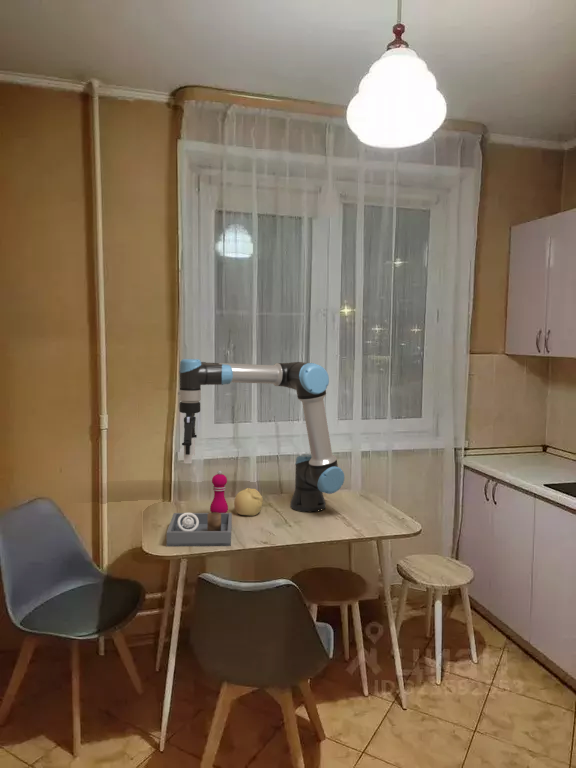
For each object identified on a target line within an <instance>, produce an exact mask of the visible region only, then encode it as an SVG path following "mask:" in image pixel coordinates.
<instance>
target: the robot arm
mask: <svg viewBox="0 0 576 768" xmlns="http://www.w3.org/2000/svg"><path fill="white" fill-rule="evenodd" d="M178 373H179V391H178V393H177V395H178V396H179V401H180V402H179V405H178V409H179V412H180V413H182V414H185V416H184V417H183V427H184V431H183V432H184V433H183V442H182V443H181V446H183V464H192V463H193V460H192V459H193V458H192V457H193V456H195V454H196V453H195V450H196V449H195V448H196V446H195V445H196V439H197V434H196V419H197V418H196V416H195V415H196V414H198V413H200V412H201V402H200V401H201V396H202V395H201V394H202V393H201V387H202V386H209V385H210V386H211V385H214V386H215V385H218V386H223V385H229V384H232V383H239V384H240V383H242V384H243V383H245V384H271V385H274V387H283V388H288V389H293V390H295V391H296V395H297V397H296V398H297V400H299V401H300V402H301V403H302V410H303V414H304V421H305V427H306V433H307V438H308V443H309V450H310V454H302V455H297V457H296V458H295V465H294V466H295V475H294V476H295V477H294V478H295V481H294V483H295V484H294V492H293V495H292V497H291V500H290V508H291V507H292V508H293V509H292V508H291V509H292V510H294V509H295V510H294V511H297V510H300V511H299V512H301V511H318V510H321V509H324V508H325V509H326V500H325V496H324V494H329V495H330V494H334V493H336V492H338V491H339V490H341V488H342V486H343V485H344V483H345V473H344V471H343V470H342V468H341V467H339V465H338V459H337V456H335V454H334V455H333V452H332V444H331V438H330V432H329V426H328V420H327V413H326V408H325V401H324V399H325V397H326V396H327V388H328V386H329V382H330V377H329V374H328V372H327V370H326V369H325V368H324V367H323V366H321V364H317V363H314V362H303V361H302V362H301V361H296V362H295V361H293V362H276V363H275V364H251V363H230V362H229V363H227V362H226V363H225V362H224V363H223V362H207V361H201V359H198V358H183V359H181V360H180V363H179V372H178ZM323 493H324V494H323ZM325 509H324V510H325ZM318 512H319V511H318Z"/></svg>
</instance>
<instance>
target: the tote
mask: <svg viewBox="0 0 576 768" xmlns="http://www.w3.org/2000/svg"><path fill="white" fill-rule="evenodd" d="M184 513H185V512H173V514H172V517H171V519H170V522H169V526H168V527H167V531H166V547H231V545H232V526H233V525H232V523H233V522H232V521H233V513H232V512H226V513H221V531H207V522H208V513H209V512H192V513H193V514H195V515H196V516H197V517H198V520H199V525H198V527H197V529H196V530H194V531H182V530H181V529H180V528H179V527H178V524H177V521H178V518H179V517H180V515H182V514H184ZM188 516H189V517H192V516H190V515H188ZM185 517H187V516H184V517H182V518H181V520H180V524H181V526H182V525H183V524H182V521H183V519H184V518H185ZM192 518H193V520H194V525H196V520H195V518H194V517H192ZM194 525H193V526H192V527H191V528H185V527H184V526H182V527H183V528H184V529H192V528H194V527H195V526H194Z"/></svg>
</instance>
